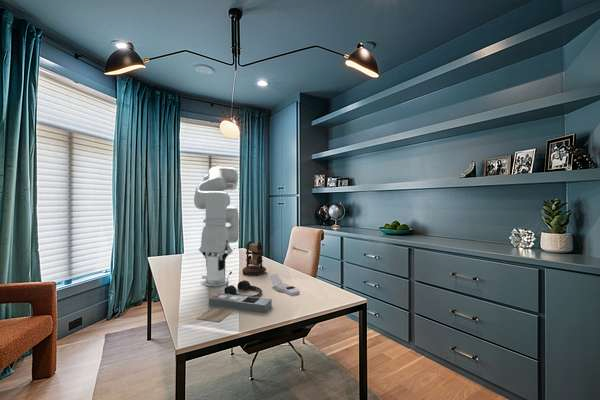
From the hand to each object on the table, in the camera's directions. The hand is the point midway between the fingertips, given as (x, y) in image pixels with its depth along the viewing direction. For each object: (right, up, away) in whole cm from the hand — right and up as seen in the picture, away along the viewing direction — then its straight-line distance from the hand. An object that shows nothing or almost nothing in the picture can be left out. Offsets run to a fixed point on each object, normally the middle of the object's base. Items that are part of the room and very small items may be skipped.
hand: (215, 268), depth 106 cm
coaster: (0, -19, 0) cm, 19 cm away
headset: (+6, -20, +25) cm, 32 cm away
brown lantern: (+4, -19, +64) cm, 67 cm away
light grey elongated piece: (+25, -20, +32) cm, 45 cm away
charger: (0, -4, 0) cm, 4 cm away
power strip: (+8, -19, +9) cm, 23 cm away
